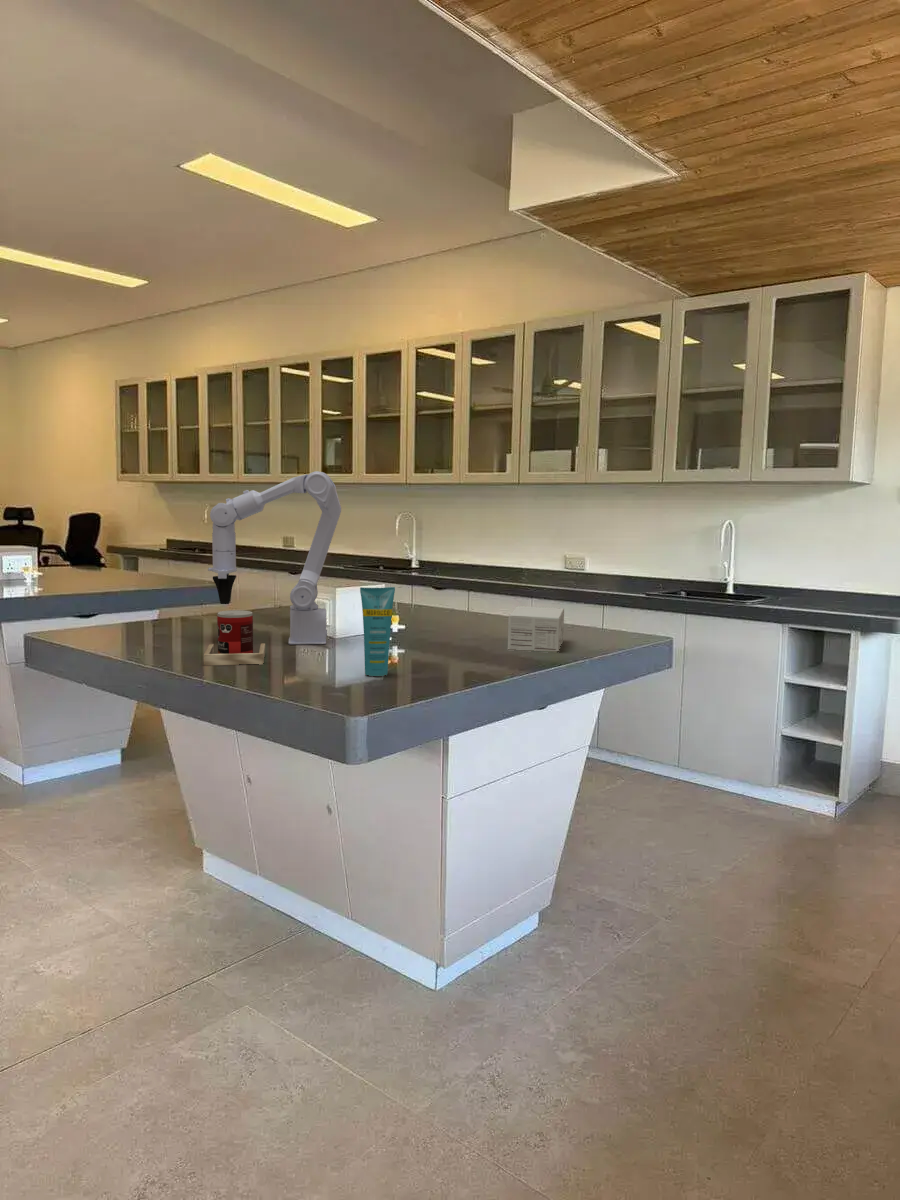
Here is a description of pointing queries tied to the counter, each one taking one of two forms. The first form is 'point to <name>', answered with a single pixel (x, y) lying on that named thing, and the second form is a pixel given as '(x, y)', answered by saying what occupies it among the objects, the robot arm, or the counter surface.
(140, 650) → the counter surface
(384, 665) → the tube
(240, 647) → the canned food
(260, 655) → the bracket
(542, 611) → the supplement box
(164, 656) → the counter surface
